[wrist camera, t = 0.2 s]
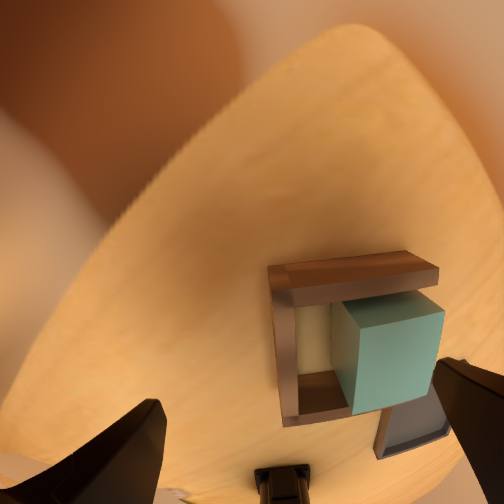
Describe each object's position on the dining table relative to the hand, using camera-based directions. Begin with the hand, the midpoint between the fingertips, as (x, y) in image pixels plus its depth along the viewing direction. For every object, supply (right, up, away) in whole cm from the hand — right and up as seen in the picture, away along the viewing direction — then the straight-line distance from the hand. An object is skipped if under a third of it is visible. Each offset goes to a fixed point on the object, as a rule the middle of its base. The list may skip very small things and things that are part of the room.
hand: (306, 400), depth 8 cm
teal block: (+8, -1, +15) cm, 17 cm away
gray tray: (+17, -13, +18) cm, 28 cm away
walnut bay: (+6, -2, +15) cm, 16 cm away
